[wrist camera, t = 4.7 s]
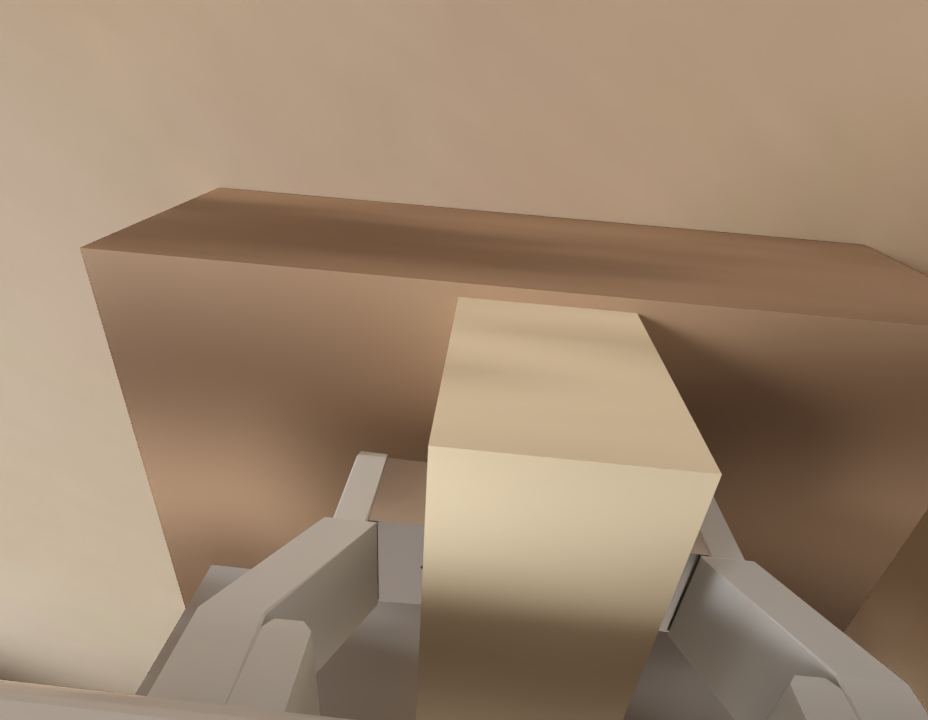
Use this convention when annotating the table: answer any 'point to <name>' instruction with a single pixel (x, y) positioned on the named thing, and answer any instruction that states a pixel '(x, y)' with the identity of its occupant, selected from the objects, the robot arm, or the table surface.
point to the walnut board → (425, 349)
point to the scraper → (537, 535)
